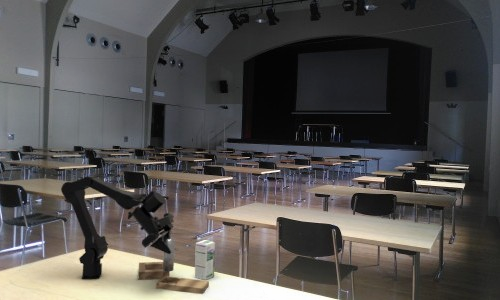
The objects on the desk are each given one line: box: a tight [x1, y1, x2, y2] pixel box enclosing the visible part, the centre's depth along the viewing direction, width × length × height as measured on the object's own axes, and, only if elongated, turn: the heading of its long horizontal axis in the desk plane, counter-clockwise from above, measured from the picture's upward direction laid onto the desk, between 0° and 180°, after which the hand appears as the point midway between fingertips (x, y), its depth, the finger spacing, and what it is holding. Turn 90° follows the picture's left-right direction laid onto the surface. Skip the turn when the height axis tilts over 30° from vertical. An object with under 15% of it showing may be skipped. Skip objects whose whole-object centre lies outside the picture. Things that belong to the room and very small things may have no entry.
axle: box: [162, 236, 176, 272], centre depth 160 cm, size 4×4×12 cm
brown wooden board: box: [155, 275, 210, 295], centre depth 159 cm, size 18×8×2 cm, turn 79°
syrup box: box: [194, 239, 216, 281], centre depth 171 cm, size 6×6×14 cm
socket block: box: [137, 261, 171, 281], centre depth 172 cm, size 12×12×3 cm
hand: (172, 251), depth 160 cm, fingers closed on axle, 4 cm apart
